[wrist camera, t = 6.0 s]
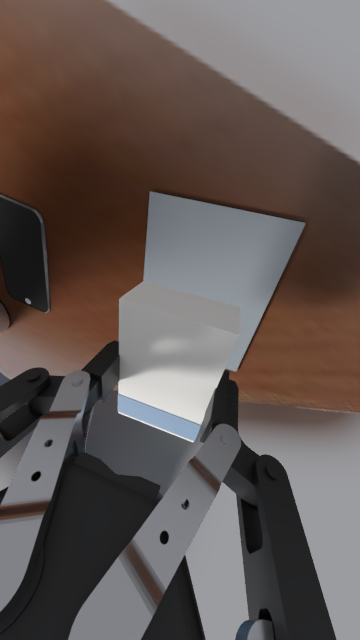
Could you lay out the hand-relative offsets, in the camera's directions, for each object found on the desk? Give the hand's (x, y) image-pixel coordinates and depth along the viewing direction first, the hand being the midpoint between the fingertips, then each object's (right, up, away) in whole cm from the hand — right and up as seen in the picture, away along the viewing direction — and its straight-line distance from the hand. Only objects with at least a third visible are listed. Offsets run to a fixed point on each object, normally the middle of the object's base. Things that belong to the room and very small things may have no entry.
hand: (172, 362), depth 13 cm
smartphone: (-21, +11, +14) cm, 28 cm away
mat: (+3, +6, +9) cm, 11 cm away
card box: (0, 0, +1) cm, 1 cm away
